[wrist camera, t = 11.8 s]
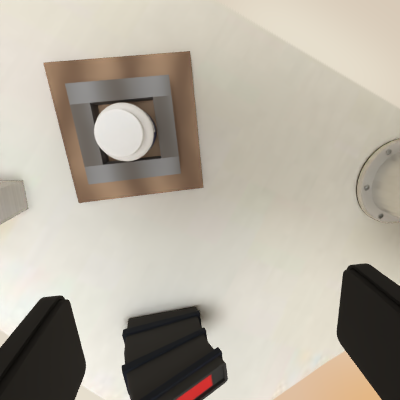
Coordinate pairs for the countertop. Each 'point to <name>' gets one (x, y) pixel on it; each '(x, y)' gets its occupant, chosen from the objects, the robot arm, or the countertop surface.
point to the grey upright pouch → (12, 199)
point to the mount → (141, 97)
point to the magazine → (171, 357)
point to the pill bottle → (124, 131)
